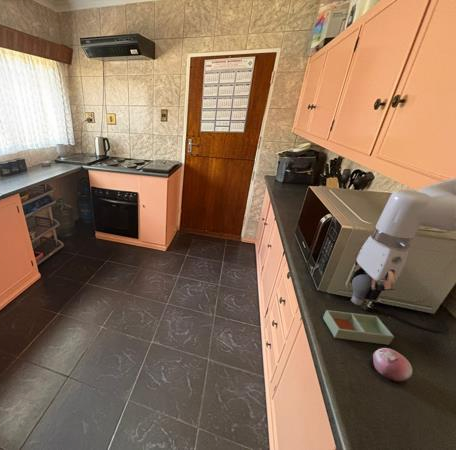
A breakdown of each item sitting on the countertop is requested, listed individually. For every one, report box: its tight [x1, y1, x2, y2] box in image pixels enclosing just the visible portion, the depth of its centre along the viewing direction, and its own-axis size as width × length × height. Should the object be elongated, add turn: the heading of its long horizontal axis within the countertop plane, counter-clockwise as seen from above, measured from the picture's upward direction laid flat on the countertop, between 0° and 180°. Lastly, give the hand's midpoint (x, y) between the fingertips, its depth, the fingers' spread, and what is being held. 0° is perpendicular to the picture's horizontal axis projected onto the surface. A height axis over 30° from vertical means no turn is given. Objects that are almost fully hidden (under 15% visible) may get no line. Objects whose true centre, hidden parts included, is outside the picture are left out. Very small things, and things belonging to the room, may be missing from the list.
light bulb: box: [350, 274, 380, 306], centre depth 72 cm, size 6×6×10 cm
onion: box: [372, 347, 413, 382], centre depth 66 cm, size 8×8×7 cm
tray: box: [322, 309, 395, 346], centre depth 78 cm, size 16×8×4 cm, turn 82°
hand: (362, 290), depth 72 cm, fingers closed on light bulb, 6 cm apart
